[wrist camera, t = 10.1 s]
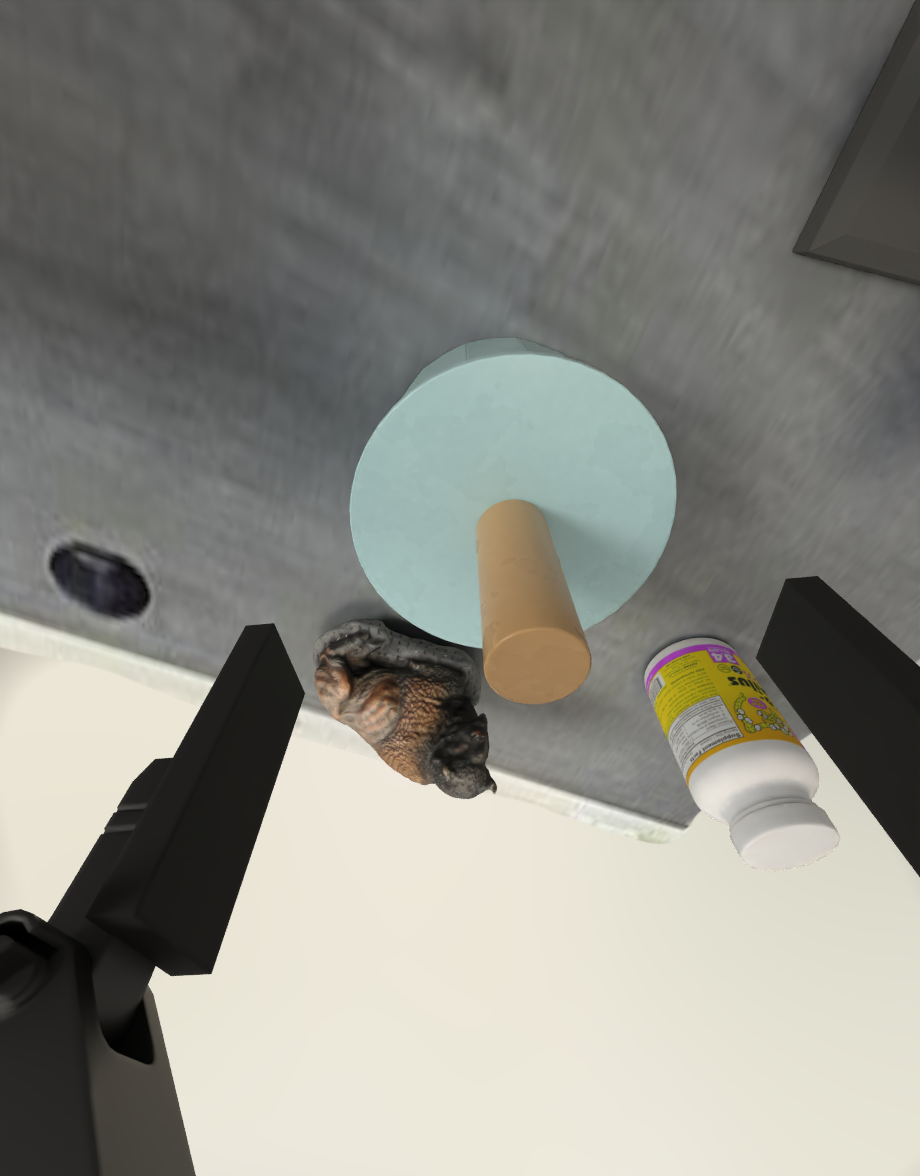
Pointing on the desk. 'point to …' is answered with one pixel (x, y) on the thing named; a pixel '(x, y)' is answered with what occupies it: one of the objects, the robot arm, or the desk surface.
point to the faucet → (877, 176)
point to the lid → (514, 512)
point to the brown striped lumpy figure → (407, 703)
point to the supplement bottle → (739, 755)
